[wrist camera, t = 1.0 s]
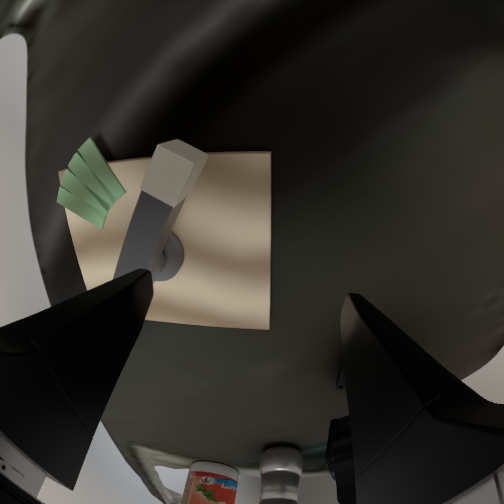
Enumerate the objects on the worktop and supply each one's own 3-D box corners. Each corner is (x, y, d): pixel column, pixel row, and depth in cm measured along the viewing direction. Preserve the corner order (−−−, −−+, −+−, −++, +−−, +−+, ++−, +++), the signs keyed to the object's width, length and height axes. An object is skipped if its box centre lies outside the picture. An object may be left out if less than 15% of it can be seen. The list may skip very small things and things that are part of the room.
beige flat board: (270, 320, 25) (268, 336, 23) (95, 304, 27) (86, 316, 25) (270, 118, 18) (269, 119, 16) (58, 144, 19) (43, 148, 18)
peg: (158, 282, 21) (134, 319, 17) (131, 267, 21) (102, 300, 17) (219, 152, 16) (198, 165, 12) (184, 135, 16) (154, 142, 12)
